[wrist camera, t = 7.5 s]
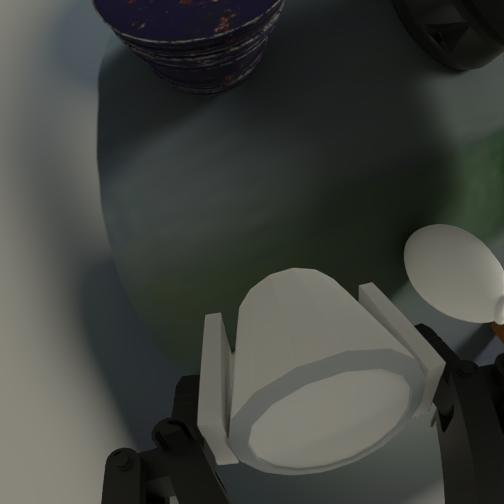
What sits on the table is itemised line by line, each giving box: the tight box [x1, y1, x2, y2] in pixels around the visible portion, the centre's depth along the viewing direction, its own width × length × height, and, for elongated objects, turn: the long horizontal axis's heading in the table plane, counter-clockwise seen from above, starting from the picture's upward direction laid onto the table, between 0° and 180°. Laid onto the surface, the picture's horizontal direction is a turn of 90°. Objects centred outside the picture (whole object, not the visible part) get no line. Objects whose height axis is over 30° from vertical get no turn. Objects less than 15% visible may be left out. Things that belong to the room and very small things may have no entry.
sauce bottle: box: [404, 224, 504, 325], centre depth 22 cm, size 8×8×18 cm
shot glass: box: [228, 268, 426, 475], centre depth 11 cm, size 7×7×7 cm
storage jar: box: [92, 0, 285, 96], centre depth 15 cm, size 10×10×15 cm
